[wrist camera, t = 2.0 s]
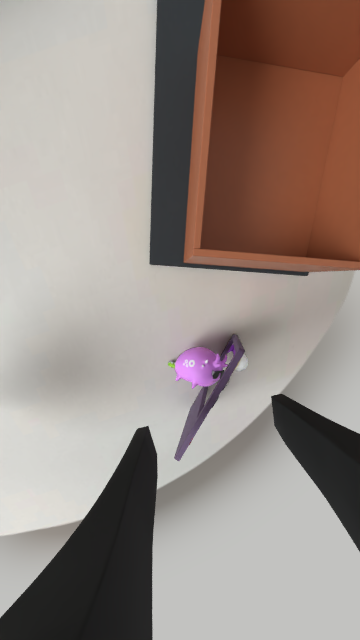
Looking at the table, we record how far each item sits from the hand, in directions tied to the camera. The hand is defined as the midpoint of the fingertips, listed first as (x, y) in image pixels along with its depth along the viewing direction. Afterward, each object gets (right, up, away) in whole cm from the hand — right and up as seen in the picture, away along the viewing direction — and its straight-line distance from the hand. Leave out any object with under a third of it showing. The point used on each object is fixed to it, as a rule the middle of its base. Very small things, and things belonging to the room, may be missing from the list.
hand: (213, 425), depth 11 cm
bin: (+4, +17, +4) cm, 18 cm away
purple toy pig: (-1, +2, +8) cm, 8 cm away
